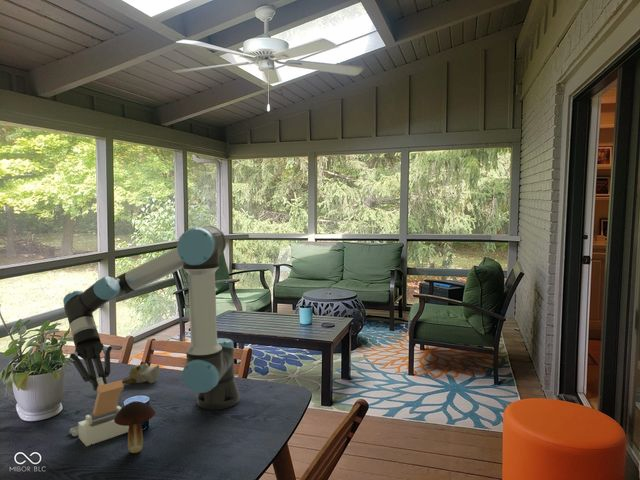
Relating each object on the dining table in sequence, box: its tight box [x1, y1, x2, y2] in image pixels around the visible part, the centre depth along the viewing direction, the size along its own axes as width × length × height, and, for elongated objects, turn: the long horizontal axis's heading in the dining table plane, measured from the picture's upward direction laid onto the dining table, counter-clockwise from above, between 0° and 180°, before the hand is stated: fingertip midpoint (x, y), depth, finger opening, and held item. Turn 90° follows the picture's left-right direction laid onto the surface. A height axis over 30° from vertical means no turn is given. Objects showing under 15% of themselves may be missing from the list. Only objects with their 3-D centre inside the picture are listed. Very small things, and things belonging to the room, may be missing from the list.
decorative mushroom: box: [114, 400, 156, 454], centre depth 133 cm, size 11×11×15 cm
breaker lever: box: [90, 379, 125, 420], centre depth 141 cm, size 3×7×14 cm
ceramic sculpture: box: [120, 361, 160, 385], centre depth 186 cm, size 11×9×15 cm
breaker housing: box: [68, 405, 129, 447], centre depth 145 cm, size 12×15×7 cm
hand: (103, 398), depth 141 cm, fingers closed
